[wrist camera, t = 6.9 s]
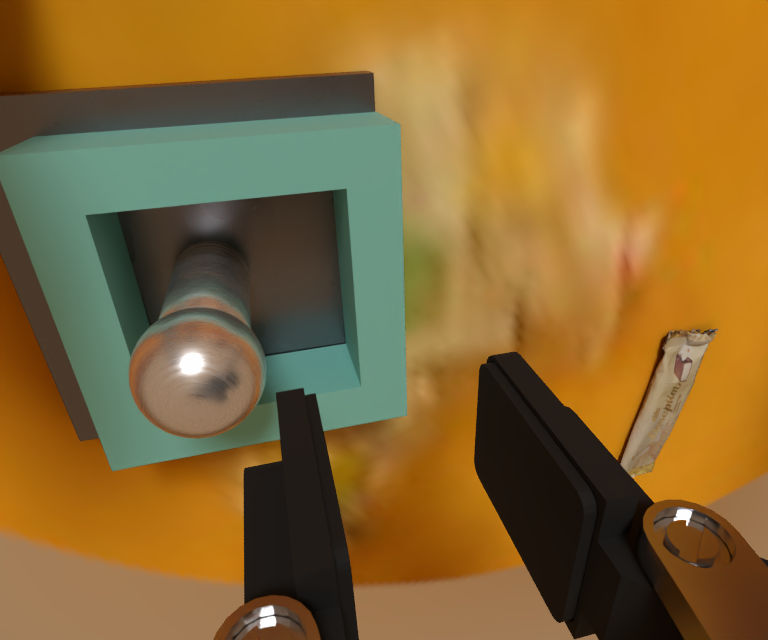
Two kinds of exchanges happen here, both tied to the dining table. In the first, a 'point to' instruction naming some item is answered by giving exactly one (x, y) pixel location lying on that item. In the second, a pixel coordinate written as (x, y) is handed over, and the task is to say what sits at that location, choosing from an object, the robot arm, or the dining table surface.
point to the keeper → (199, 252)
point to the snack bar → (665, 398)
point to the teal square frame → (204, 185)
